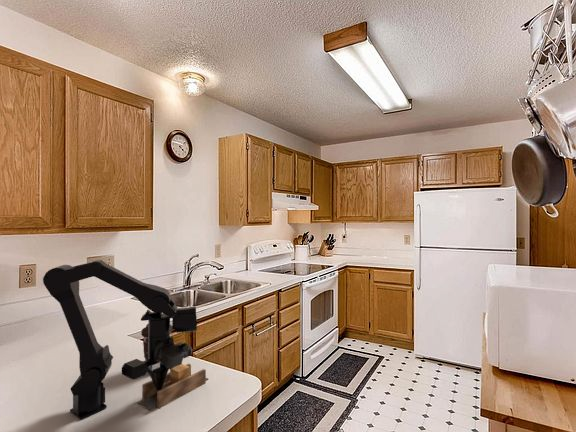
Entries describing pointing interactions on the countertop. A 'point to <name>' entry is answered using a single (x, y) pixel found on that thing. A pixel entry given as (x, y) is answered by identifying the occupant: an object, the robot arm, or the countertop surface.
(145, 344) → the coffee cup
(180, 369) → the block
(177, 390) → the trough
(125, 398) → the countertop surface
